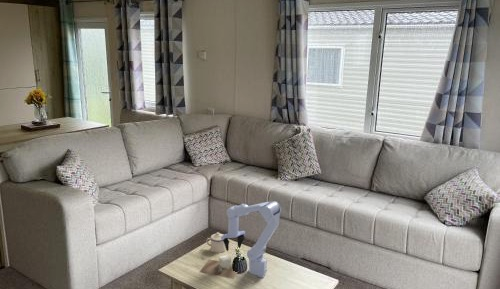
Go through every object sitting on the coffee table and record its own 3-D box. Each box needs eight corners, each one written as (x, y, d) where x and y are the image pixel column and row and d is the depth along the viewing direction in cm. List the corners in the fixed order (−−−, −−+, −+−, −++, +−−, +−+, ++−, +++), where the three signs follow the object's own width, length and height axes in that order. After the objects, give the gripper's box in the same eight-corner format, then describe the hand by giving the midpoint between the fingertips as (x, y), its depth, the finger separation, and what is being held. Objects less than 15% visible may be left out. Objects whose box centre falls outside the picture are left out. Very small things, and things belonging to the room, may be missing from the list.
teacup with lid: (227, 248, 248) (227, 230, 245) (222, 255, 239) (222, 237, 236) (209, 245, 251) (209, 228, 248) (203, 252, 242) (203, 234, 239)
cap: (227, 261, 230) (227, 254, 229) (230, 266, 226) (231, 258, 225) (219, 263, 228) (219, 256, 226) (222, 268, 223) (222, 260, 222)
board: (241, 266, 227) (241, 260, 226) (233, 280, 214) (233, 273, 213) (209, 260, 233) (209, 254, 232) (199, 273, 220) (199, 267, 219)
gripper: (241, 221, 232) (241, 242, 235) (218, 226, 225) (218, 248, 228) (247, 226, 226) (246, 248, 229) (224, 231, 219) (223, 253, 222)
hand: (233, 248), depth 228 cm, fingers open, 7 cm apart
